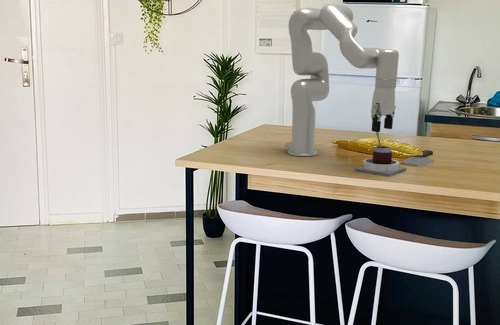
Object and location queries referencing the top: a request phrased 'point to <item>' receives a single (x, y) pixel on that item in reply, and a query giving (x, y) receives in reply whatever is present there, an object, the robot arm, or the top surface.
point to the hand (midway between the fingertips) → (381, 130)
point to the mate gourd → (382, 154)
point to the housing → (380, 168)
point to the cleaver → (419, 159)
